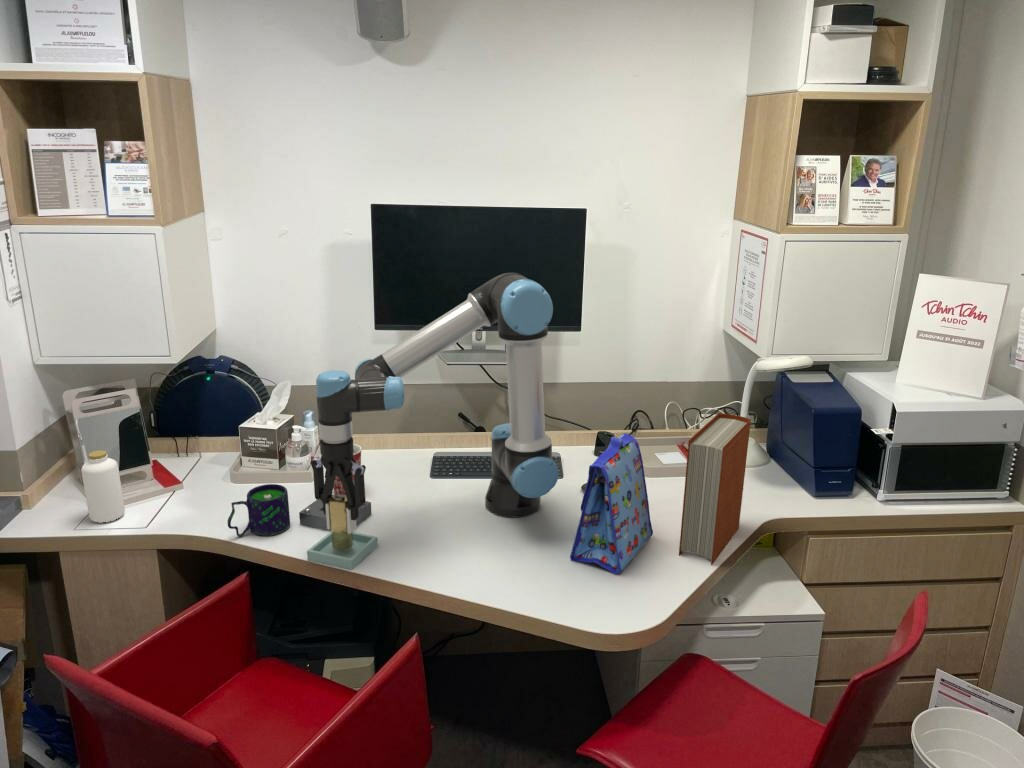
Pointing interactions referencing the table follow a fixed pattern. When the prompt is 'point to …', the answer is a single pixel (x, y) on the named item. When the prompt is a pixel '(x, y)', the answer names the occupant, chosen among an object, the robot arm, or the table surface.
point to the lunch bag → (614, 508)
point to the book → (714, 485)
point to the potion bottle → (102, 487)
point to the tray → (343, 551)
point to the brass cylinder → (339, 523)
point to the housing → (317, 518)
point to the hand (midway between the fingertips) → (341, 528)
